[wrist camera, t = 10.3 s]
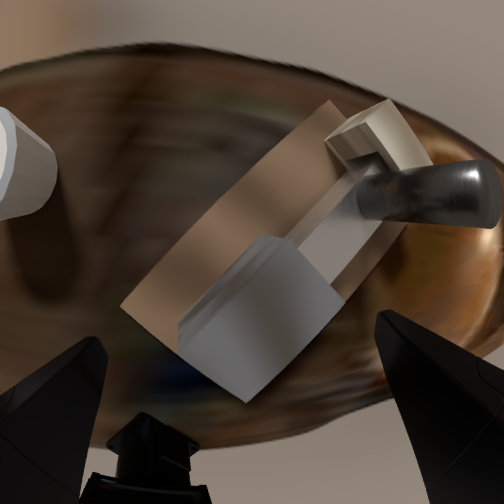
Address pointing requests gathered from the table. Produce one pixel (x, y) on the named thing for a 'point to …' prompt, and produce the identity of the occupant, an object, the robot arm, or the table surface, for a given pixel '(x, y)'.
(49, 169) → the shot glass
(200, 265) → the base
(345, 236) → the dark knobbed lever handle
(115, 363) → the table surface
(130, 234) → the table surface
